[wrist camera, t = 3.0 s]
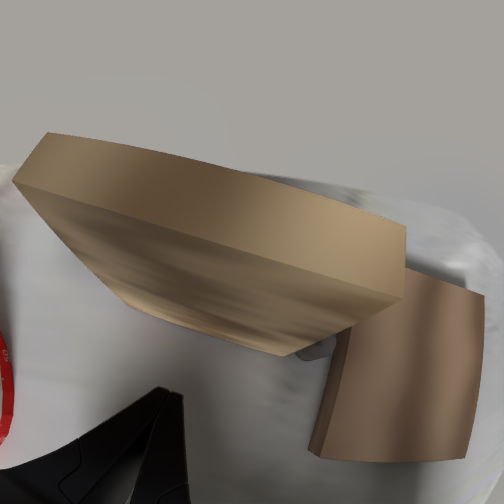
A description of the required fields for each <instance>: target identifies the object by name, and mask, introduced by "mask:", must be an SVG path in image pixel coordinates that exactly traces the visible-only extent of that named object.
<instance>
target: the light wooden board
mask: <svg viewBox="0 0 504 504" xmlns="http://www.w3.org/2000/svg"><path fill="white" fill-rule="evenodd" d="M12 182H13V183H14V184H15V186H16V187H17V188H18V189H19V191H20V192H21V193H22V195H23V196H24V197H25V198H26V200H27V201H28V202H29V203H30V205H31V206H32V207H33V208H34V209H35V211H36V212H37V213H38V214H39V215H40V216H41V218H42V219H43V220H44V221H45V222H46V223H47V225H48V226H49V227H50V228H51V229H52V230H53V231H54V233H55V234H56V235H57V236H58V237H59V238H60V239H61V240H62V241H63V242H64V244H65V245H66V246H67V247H68V248H69V249H70V250H71V251H72V252H73V253H74V254H75V255H76V256H77V257H78V258H79V259H80V260H81V261H82V262H83V263H84V264H85V265H86V266H87V267H88V268H89V269H90V270H91V271H92V272H93V273H94V274H95V275H96V276H97V277H98V278H99V279H100V280H101V281H102V282H103V283H104V284H105V285H106V286H107V287H108V288H109V289H110V290H111V291H112V292H113V293H114V294H115V295H117V296H118V297H119V298H120V299H121V300H122V301H123V302H124V303H125V304H126V305H128V306H129V307H132V308H134V309H137V310H140V311H142V312H145V313H147V314H150V315H153V316H155V317H158V318H161V319H164V320H166V321H169V322H172V323H175V324H178V325H180V326H183V327H186V328H189V329H192V330H195V331H198V332H201V333H204V334H207V335H210V336H213V337H216V338H220V339H223V340H226V341H229V342H232V343H236V344H239V345H242V346H246V347H249V348H253V349H256V350H260V351H263V352H267V353H271V354H274V355H278V356H282V357H284V356H286V355H289V354H291V353H293V352H296V354H297V356H298V357H299V358H300V359H302V360H304V361H311V360H315V359H319V358H323V357H326V356H328V355H330V354H331V353H332V352H333V351H334V349H335V347H336V337H335V335H334V334H336V333H338V332H340V331H342V330H344V329H346V328H348V327H350V326H352V325H354V324H356V323H358V322H360V321H362V320H364V319H366V318H368V317H370V316H372V315H374V314H376V313H378V312H380V311H382V310H384V309H386V308H387V307H389V306H391V305H393V304H395V303H397V302H398V301H400V300H402V299H403V295H404V281H405V261H406V226H404V225H402V224H399V223H396V222H394V221H391V220H389V219H386V218H383V217H381V216H378V215H375V214H372V213H370V212H367V211H364V210H361V209H359V208H356V207H353V206H350V205H347V204H344V203H341V202H338V201H336V200H333V199H330V198H327V197H324V196H320V195H317V194H314V193H311V192H308V191H305V190H302V189H299V188H295V187H292V186H289V185H286V184H282V183H279V182H276V181H272V180H269V179H265V178H262V177H258V176H255V175H251V174H248V173H244V172H240V171H237V170H233V169H229V168H225V167H221V166H217V165H214V164H209V163H206V162H201V161H197V160H193V159H189V158H185V157H181V156H176V155H172V154H167V153H163V152H158V151H153V150H148V149H143V148H139V147H134V146H129V145H124V144H118V143H112V142H107V141H102V140H96V139H90V138H83V137H77V136H70V135H64V134H56V133H49V132H48V133H47V134H46V135H45V136H44V137H43V138H42V140H41V141H40V142H39V144H38V145H37V146H36V147H35V149H34V150H33V151H32V153H31V154H30V155H29V157H28V158H27V159H26V161H25V162H24V163H23V165H22V166H21V168H20V169H19V171H18V172H17V173H16V175H15V176H14V178H13V179H12Z"/></svg>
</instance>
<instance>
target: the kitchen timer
mask: <svg viewBox="0 0 504 504" xmlns="http://www.w3.org/2000/svg"><path fill="white" fill-rule="evenodd" d="M13 407H14V385H13V376H12V367H11V363H10V359H9V355H8V351H7V347H6V344H5V342H4V339H3V337H2V335H1V332H0V445H1V444H2V442H3V441H4V439H5V438H6V436H7V435H8V433H9V429H10V425H11V421H12V418H13Z"/></svg>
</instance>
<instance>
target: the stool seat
mask: <svg viewBox="0 0 504 504" xmlns="http://www.w3.org/2000/svg"><path fill="white" fill-rule="evenodd" d="M484 317H485V308H484V295H481V294H478V293H476V292H473V291H470V290H467V289H465V288H462V287H459V286H457V285H454V284H451V283H448V282H446V281H443V280H440V279H437V278H434V277H432V276H429V275H426V274H423V273H420V272H417V271H415V270H412V269H409V268H406V267H405V281H404V295H403V299H402V300H400V301H398V302H397V303H395V304H393V305H391V306H389V307H387V308H386V309H384V310H382V311H380V312H378V313H376V314H374V315H372V316H370V317H368V318H366V319H364V320H362V321H360V322H358V323H356V324H354V325H352V326H350V327H348V328H346V329H344V330H342V331H340V332H338V334H337V339H336V347H335V349H334V353H333V358H332V362H331V367H330V371H329V375H328V379H327V383H326V387H325V391H324V395H323V399H322V403H321V407H320V410H319V414H318V417H317V421H316V424H315V428H314V431H313V435H312V438H311V441H310V445H309V448H308V450H309V451H310V452H312V453H313V454H314V455H316V456H317V457H319V458H325V459H334V460H345V461H359V462H388V463H402V462H429V461H443V460H453V459H462V458H465V456H466V452H467V448H468V445H469V440H470V436H471V432H472V427H473V423H474V418H475V412H476V407H477V401H478V395H479V388H480V380H481V371H482V360H483V347H484Z"/></svg>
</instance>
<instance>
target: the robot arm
mask: <svg viewBox="0 0 504 504" xmlns="http://www.w3.org/2000/svg"><path fill="white" fill-rule="evenodd" d="M135 483H136V484H135ZM134 485H135V487H134ZM133 487H134V491H133V494H132V498H131V501H130V504H191V501H190V494H189V484H188V473H187V460H186V446H185V428H184V405H183V395H182V394H180V393H177V392H174V391H171V392H170V390H168V389H165V388H163V387H156V388H154V389H153V390H151V391H150V392H148V393H147V394H146V395H144V396H143V397H141V398H140V399H138V400H137V401H135V402H134V403H132V404H131V405H129V406H128V407H126V408H124V409H123V410H121V411H120V412H118V413H117V414H115V415H114V416H112V417H111V418H109V419H108V420H106V421H104V422H103V423H101V424H100V425H98V426H96V427H95V428H93V429H92V430H90V431H88V432H87V433H85V434H84V435H82V436H80V437H79V438H77V439H75V440H74V441H72V442H70V443H69V444H67V445H65V446H63V447H61V448H59V449H58V450H56V451H53V452H51V453H49V454H47V455H44V456H42V457H39V458H37V459H34V460H31V461H29V462H26V463H23V464H21V465H18V466H15V467H12V468H8V469H1V470H0V504H125V502H126V500H127V498H128V496H129V494H130V493H131V491H132V489H133Z"/></svg>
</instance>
